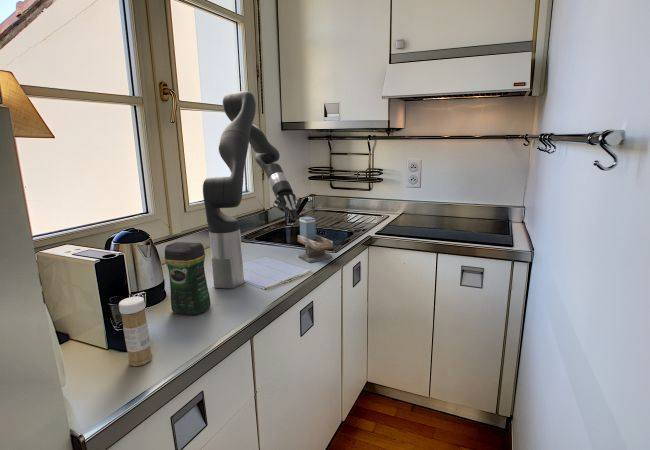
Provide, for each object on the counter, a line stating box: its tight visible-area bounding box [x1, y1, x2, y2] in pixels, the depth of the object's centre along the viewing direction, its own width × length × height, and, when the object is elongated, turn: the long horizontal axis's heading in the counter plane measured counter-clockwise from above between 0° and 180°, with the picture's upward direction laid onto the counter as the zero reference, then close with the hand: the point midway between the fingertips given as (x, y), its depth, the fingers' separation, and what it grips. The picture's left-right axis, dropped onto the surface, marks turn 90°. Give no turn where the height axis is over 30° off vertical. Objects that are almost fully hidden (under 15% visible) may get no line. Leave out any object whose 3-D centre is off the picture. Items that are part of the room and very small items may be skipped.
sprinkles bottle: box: [118, 296, 153, 367], centre depth 77 cm, size 5×5×13 cm
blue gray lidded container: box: [298, 216, 317, 240], centre depth 144 cm, size 5×4×8 cm
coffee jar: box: [164, 241, 212, 316], centre depth 99 cm, size 10×8×19 cm
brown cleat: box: [297, 234, 334, 264], centre depth 141 cm, size 16×10×8 cm, turn 32°
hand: (295, 218), depth 151 cm, fingers closed
